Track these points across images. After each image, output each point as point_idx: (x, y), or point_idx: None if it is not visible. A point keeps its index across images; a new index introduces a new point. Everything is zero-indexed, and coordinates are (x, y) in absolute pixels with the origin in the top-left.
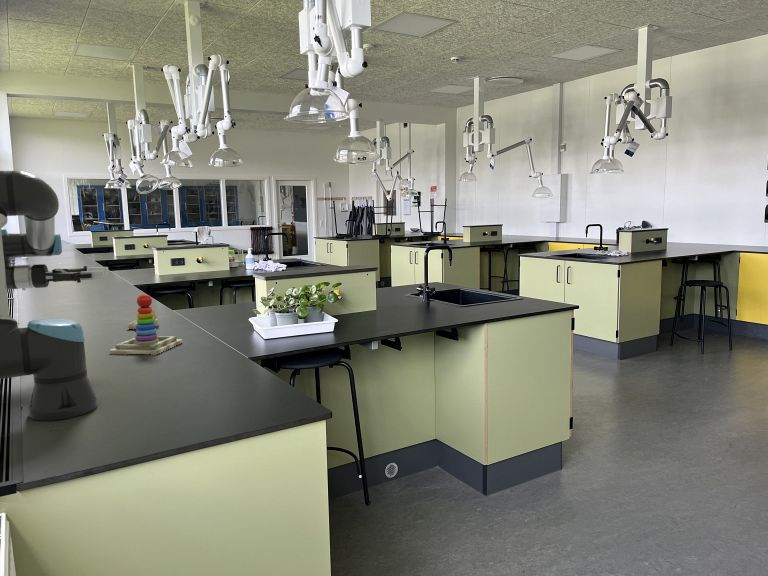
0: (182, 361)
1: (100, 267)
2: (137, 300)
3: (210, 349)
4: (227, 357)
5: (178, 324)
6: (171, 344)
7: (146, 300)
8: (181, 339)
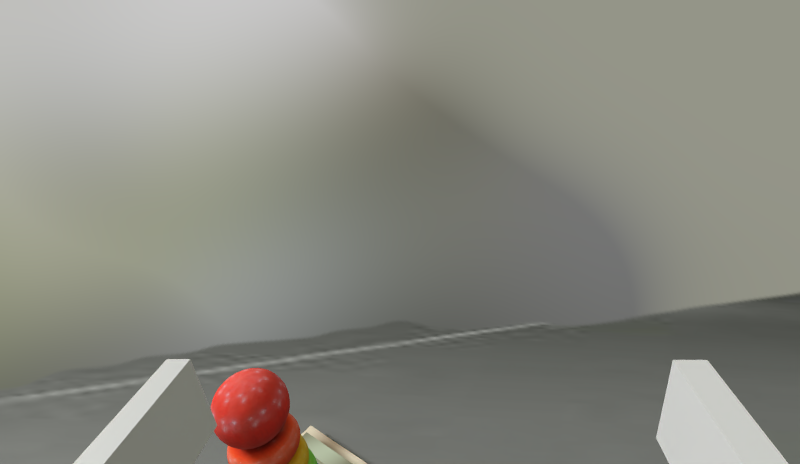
0: (577, 446)
1: (133, 427)
2: (248, 431)
3: (446, 375)
4: (555, 349)
5: (4, 434)
6: (361, 460)
7: (287, 393)
8: (309, 427)
